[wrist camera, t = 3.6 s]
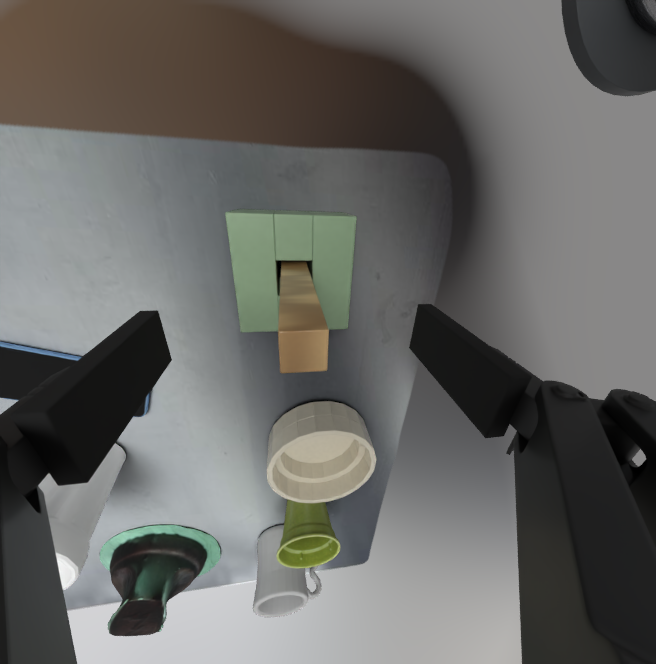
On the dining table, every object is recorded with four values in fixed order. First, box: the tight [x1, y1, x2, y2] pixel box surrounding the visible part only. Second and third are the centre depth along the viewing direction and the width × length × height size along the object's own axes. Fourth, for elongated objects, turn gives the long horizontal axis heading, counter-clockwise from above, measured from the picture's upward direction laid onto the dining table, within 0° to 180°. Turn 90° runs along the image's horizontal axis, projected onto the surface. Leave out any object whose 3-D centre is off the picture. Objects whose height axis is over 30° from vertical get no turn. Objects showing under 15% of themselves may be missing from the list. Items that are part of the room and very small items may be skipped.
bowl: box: [267, 401, 376, 503], centre depth 37 cm, size 14×14×6 cm
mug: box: [253, 525, 321, 617], centre depth 47 cm, size 12×9×10 cm
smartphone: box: [0, 342, 150, 417], centre depth 29 cm, size 7×1×15 cm
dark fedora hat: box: [100, 525, 220, 636], centre depth 46 cm, size 15×19×20 cm
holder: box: [225, 209, 357, 332], centre depth 25 cm, size 10×10×6 cm
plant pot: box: [276, 499, 340, 568], centre depth 42 cm, size 9×9×9 cm
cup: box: [38, 443, 126, 590], centre depth 29 cm, size 10×10×13 cm
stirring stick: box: [278, 260, 329, 373], centre depth 20 cm, size 2×2×18 cm
